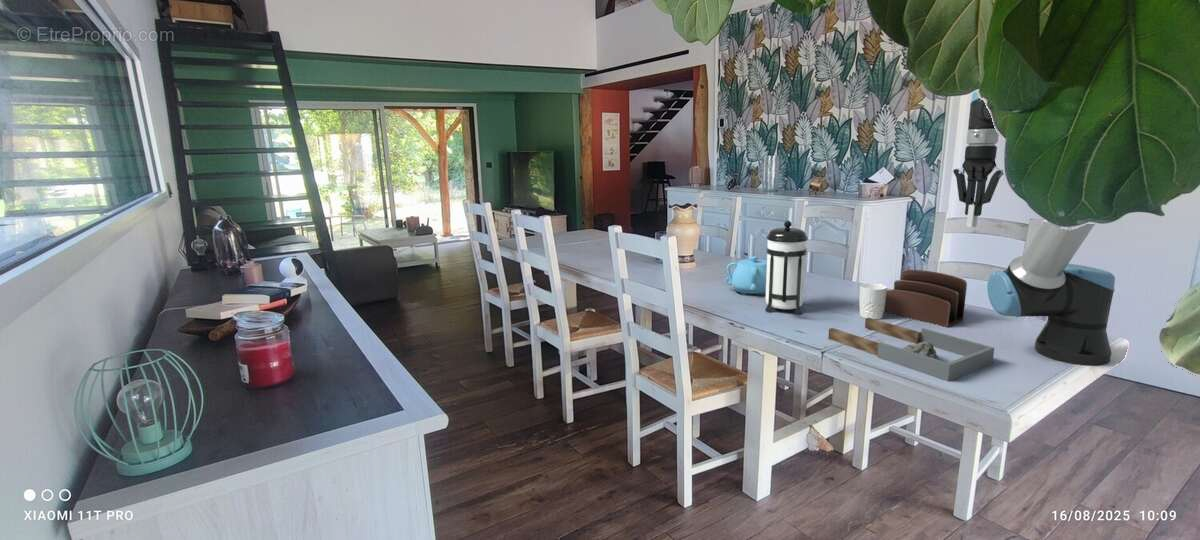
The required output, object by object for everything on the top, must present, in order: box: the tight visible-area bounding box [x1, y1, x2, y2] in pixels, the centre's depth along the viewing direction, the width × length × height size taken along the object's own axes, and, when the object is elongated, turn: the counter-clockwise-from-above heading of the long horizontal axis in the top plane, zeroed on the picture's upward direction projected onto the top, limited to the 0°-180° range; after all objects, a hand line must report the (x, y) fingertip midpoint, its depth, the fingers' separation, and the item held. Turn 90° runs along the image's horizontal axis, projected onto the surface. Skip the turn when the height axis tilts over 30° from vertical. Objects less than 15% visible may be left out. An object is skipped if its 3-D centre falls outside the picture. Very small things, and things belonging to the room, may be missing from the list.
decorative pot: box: [725, 255, 767, 296], centre depth 210 cm, size 16×16×14 cm
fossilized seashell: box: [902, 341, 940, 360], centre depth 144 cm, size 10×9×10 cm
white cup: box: [858, 282, 888, 320], centre depth 179 cm, size 8×8×10 cm
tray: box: [876, 328, 995, 382], centre depth 144 cm, size 18×20×4 cm
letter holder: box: [883, 269, 968, 328], centre depth 177 cm, size 10×20×14 cm, turn 34°
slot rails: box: [828, 318, 921, 356], centre depth 158 cm, size 16×18×3 cm
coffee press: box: [765, 220, 809, 316], centre depth 185 cm, size 17×16×30 cm
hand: (971, 226), depth 166 cm, fingers closed
